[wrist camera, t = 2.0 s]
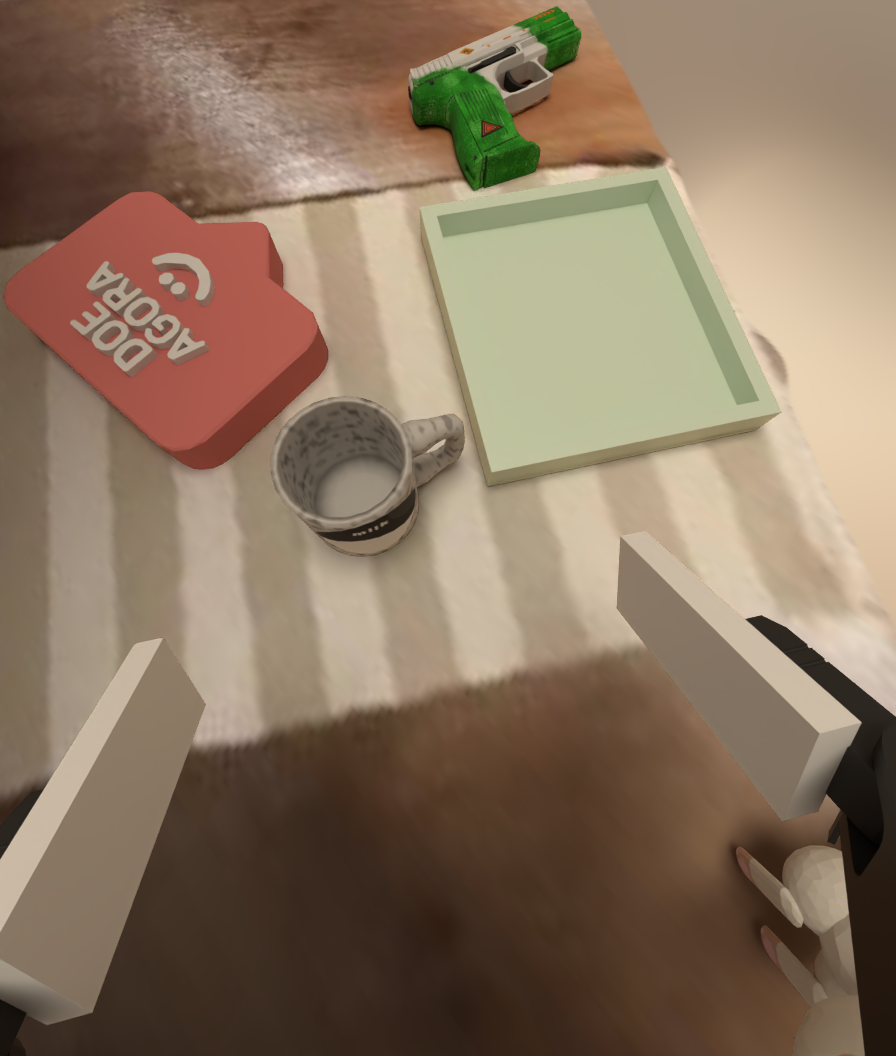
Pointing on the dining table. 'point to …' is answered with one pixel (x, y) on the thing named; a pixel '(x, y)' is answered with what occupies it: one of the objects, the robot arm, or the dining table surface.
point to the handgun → (493, 93)
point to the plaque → (174, 323)
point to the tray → (588, 325)
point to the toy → (821, 904)
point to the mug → (359, 470)
